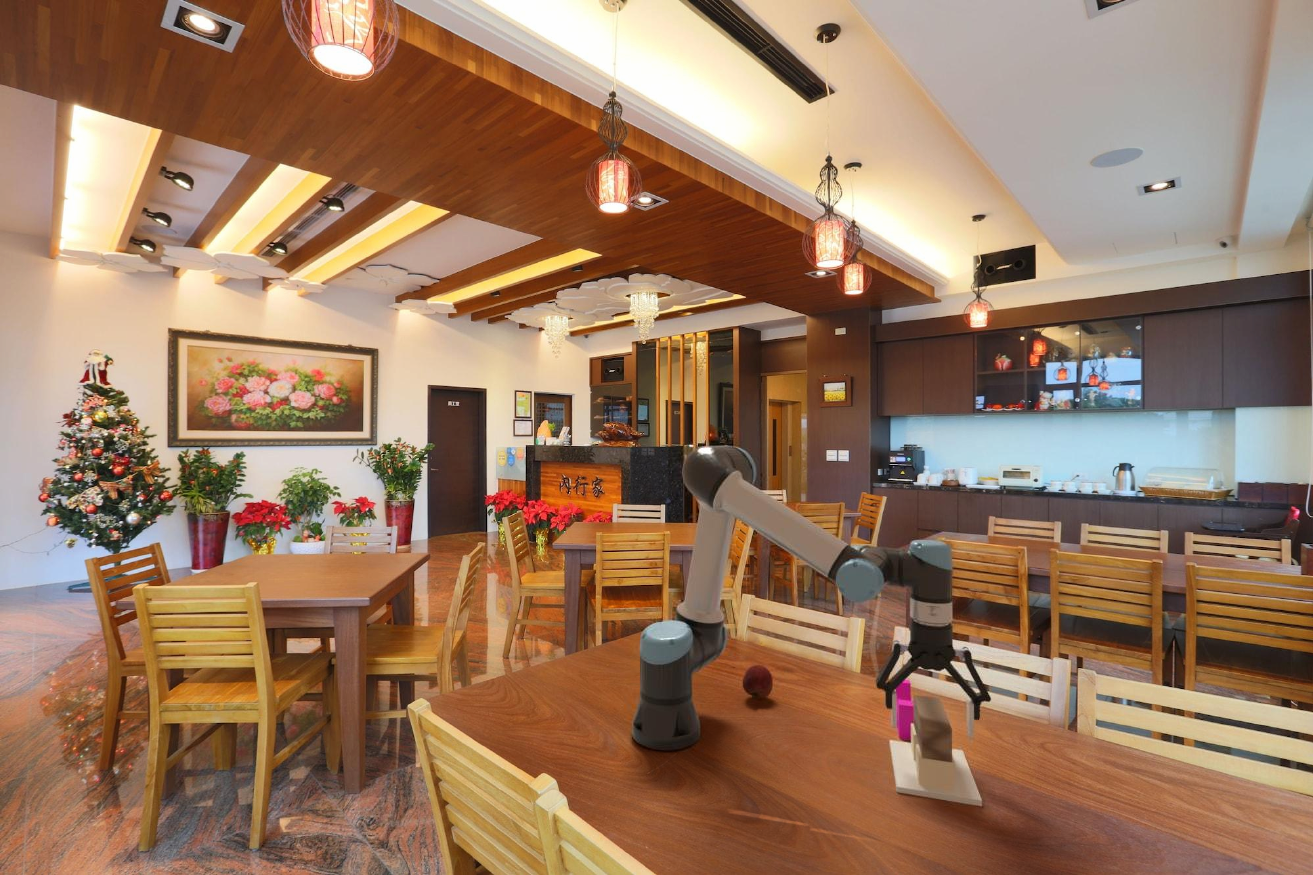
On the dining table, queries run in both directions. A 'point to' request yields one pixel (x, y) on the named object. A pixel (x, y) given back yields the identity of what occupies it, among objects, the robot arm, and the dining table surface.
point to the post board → (932, 792)
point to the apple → (758, 681)
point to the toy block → (904, 710)
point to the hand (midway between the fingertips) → (931, 730)
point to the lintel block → (932, 728)
